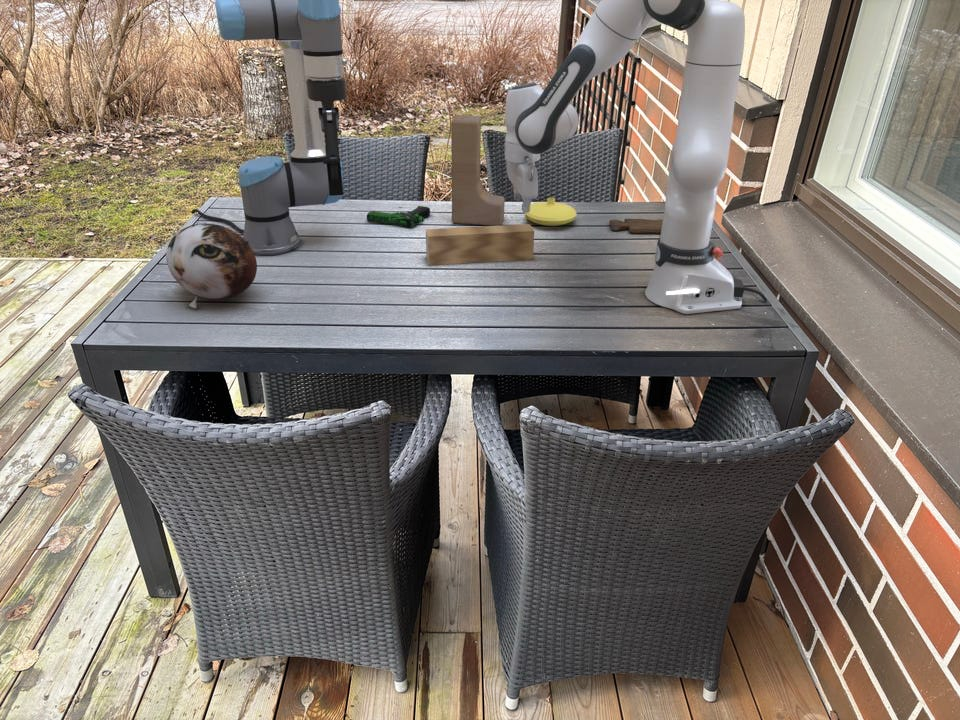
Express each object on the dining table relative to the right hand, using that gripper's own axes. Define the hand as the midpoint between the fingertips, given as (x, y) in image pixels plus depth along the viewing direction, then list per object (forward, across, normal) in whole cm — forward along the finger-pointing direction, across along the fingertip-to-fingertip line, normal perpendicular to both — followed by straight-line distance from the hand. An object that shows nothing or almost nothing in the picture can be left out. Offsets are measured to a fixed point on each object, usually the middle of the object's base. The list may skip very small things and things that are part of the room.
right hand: (521, 205), depth 186 cm
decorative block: (+14, +28, +7) cm, 32 cm away
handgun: (+13, +33, +30) cm, 47 cm away
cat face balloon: (+12, -14, +76) cm, 79 cm away
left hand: (-16, -25, +46) cm, 54 cm away
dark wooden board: (+15, +16, -44) cm, 49 cm away
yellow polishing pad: (+14, +25, -14) cm, 32 cm away
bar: (+14, 0, +11) cm, 18 cm away
